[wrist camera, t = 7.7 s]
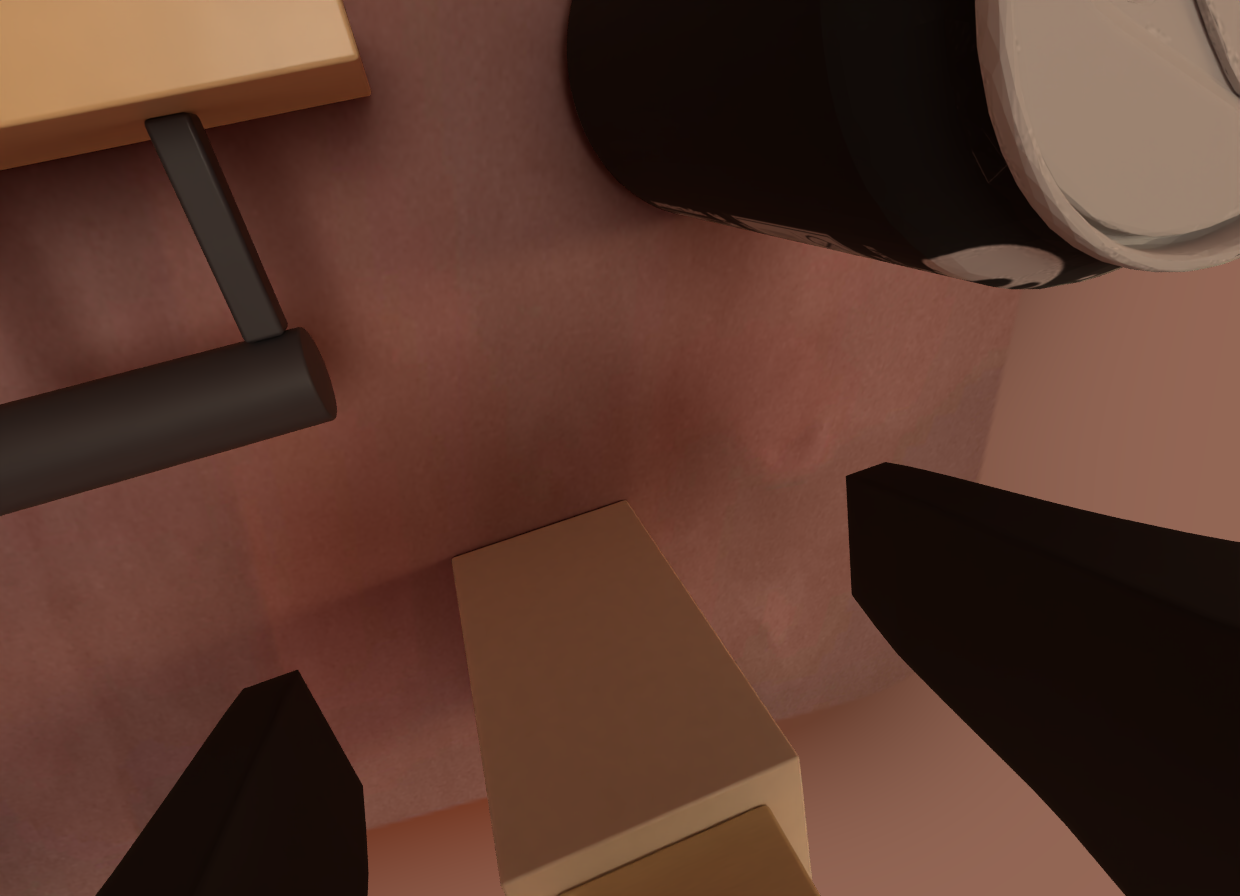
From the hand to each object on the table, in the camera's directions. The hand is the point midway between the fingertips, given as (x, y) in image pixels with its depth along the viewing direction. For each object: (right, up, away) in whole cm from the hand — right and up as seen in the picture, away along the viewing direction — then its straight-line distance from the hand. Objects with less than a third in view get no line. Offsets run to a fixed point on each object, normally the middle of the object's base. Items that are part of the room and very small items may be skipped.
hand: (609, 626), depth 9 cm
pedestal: (-2, -2, +12) cm, 12 cm away
